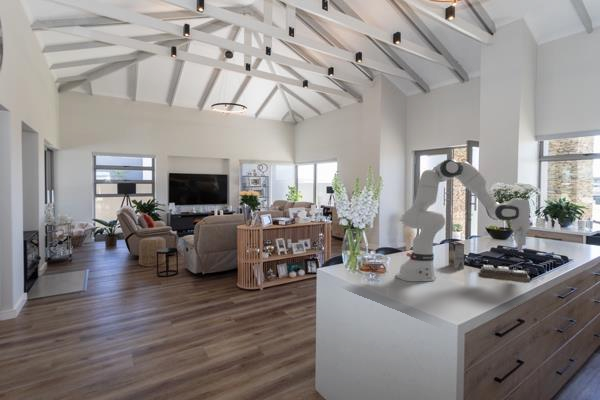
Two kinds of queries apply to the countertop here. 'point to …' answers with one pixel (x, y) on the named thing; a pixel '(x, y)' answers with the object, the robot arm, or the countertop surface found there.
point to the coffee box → (456, 255)
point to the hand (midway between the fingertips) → (519, 250)
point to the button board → (504, 274)
